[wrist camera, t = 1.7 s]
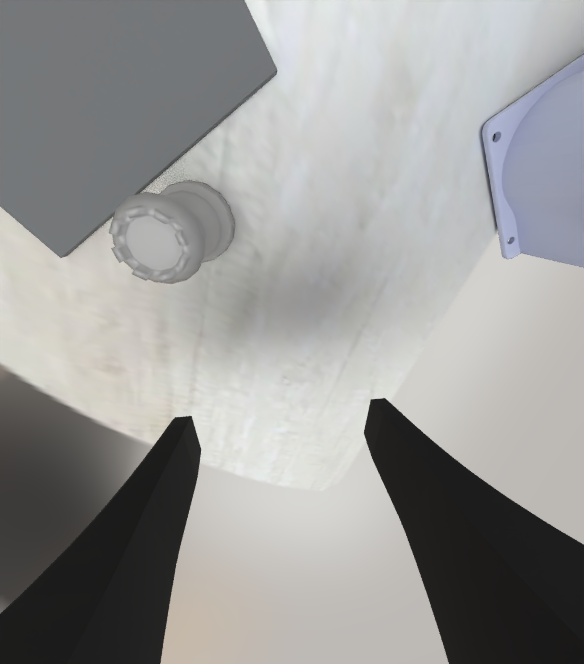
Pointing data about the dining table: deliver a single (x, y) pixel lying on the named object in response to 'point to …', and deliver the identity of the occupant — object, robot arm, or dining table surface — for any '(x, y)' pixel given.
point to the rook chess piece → (171, 231)
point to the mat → (112, 100)
